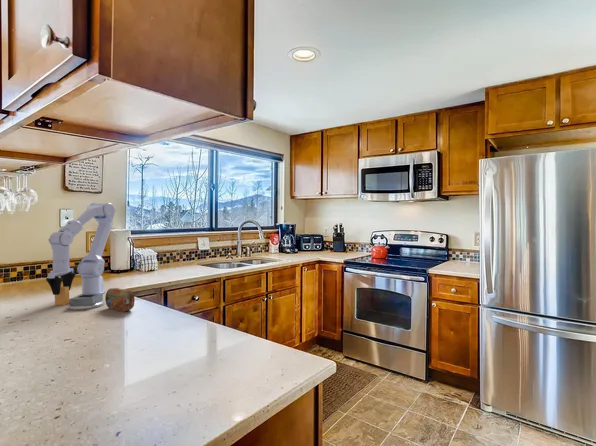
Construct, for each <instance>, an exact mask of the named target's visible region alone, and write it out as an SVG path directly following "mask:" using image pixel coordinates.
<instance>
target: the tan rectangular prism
mask: <svg viewBox="0 0 596 446" xmlns="http://www.w3.org/2000/svg"><path fill="white" fill-rule="evenodd" d="M65 304H66V305H69V304H70V290H69V287H63V286H61V288H60V294H59V295H54V306H64V305H65ZM66 305H65V306H66Z"/></svg>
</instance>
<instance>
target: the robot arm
mask: <svg viewBox="0 0 596 446" xmlns="http://www.w3.org/2000/svg"><path fill="white" fill-rule="evenodd" d="M86 207H87V208H86V210H85V211H84V212H82V214H80V216H78V217H77V219H76V220H75V219H72V220H68V221H67V223H66V224H65V225H64V226H63V227H60V228H59V230H58V231H54V232H52V233H51V235H50V236H49V238H48V243H49V244H50V245H51V246H50V247H51V250H52V270H50V271H49V273H48V274H47V277H45V280H46V282H47V283H48V285H49V287H50V289H51V292H52V295H53V296H55V295H59V294H60V288H61V287H69V291H70V290H71V288H72V283H73V281H74V279H75V277H76V275H77V273H78V274H79V275H80V277H81V290H82V293H81V294H97V293H103V294H104V293H105V294H106V293H107V291H106V290H104V277H103V276H102V275H103V273H104V271H105V263H106V261H105V260H104V258H102V256H103V253H104V251H105V248H106V244H107V241H108V238H109V235H110V232H111V229H112V225H113V220H114V218H115V217H114V216H115V213H116V209H115V206H114V205H113V203H111V202H92V203H90V204H89V205H88V206H86ZM92 219H94V220H95V222H98V223H97V224H98V226H97V228H96V231H95V234H94V238H93V240H92V243H91V245H90V249H89V251H88V254H87V255H85V256H84V257H82V259H81V261H80V263H79V264H78V265H77V268H76V269H77V273H75V272H74V267H71V265H70V263H71V262H70V245H71V244H72V243H73V240H74V238H75V236H77V235H78V234H79V233H80V232H81V231H83V230H84V229H83V228H84V227H83V226H84V225H85V224H87V223H88V222H90V221H91V220H92Z"/></svg>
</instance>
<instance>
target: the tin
mask: <svg viewBox="0 0 596 446" xmlns="http://www.w3.org/2000/svg"><path fill="white" fill-rule="evenodd" d="M104 298H105V300H104V302H105V305H106V307H107V309H110V310H113V311H117V312H118V311H119V312H122V313H123V312H127V311H131V310H132V309H133V308H134V306H135V299H136V298H135V295H134V292H133V291H132V290H131V289H129V288H127V289H126V288H120V287H119V288H118V287H112V288H108V290H107V291H106V292H105V297H104Z"/></svg>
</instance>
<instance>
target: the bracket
mask: <svg viewBox="0 0 596 446" xmlns="http://www.w3.org/2000/svg"><path fill="white" fill-rule="evenodd" d="M103 294H104V293H97V294H82V293H80V294H78V295H76V296H74V297H71V298H69V304H68V309H69V310H73V311H84V310H91V309H96V308H100V307H102V306H104V305H105V300H104V298H103V297H104V296H103Z"/></svg>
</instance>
